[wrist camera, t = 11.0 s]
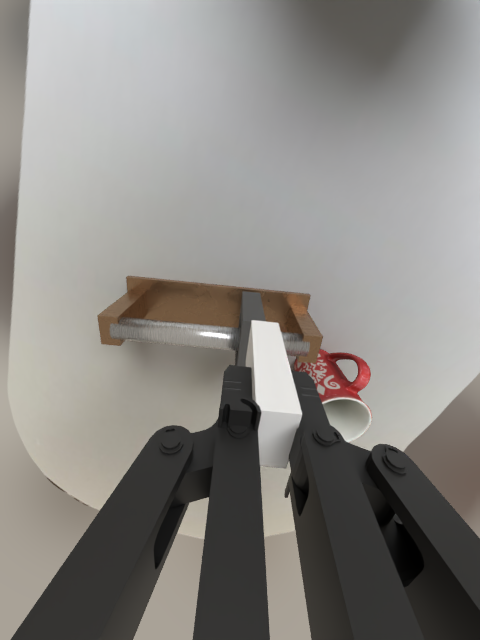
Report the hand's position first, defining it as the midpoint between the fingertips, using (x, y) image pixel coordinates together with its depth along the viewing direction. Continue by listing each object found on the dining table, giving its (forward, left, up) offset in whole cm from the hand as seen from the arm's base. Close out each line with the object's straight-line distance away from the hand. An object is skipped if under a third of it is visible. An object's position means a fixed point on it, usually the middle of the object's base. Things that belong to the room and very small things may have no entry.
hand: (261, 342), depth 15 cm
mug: (+17, +15, -27) cm, 35 cm away
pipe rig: (+9, -4, -27) cm, 28 cm away
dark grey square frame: (+9, +1, -22) cm, 24 cm away
